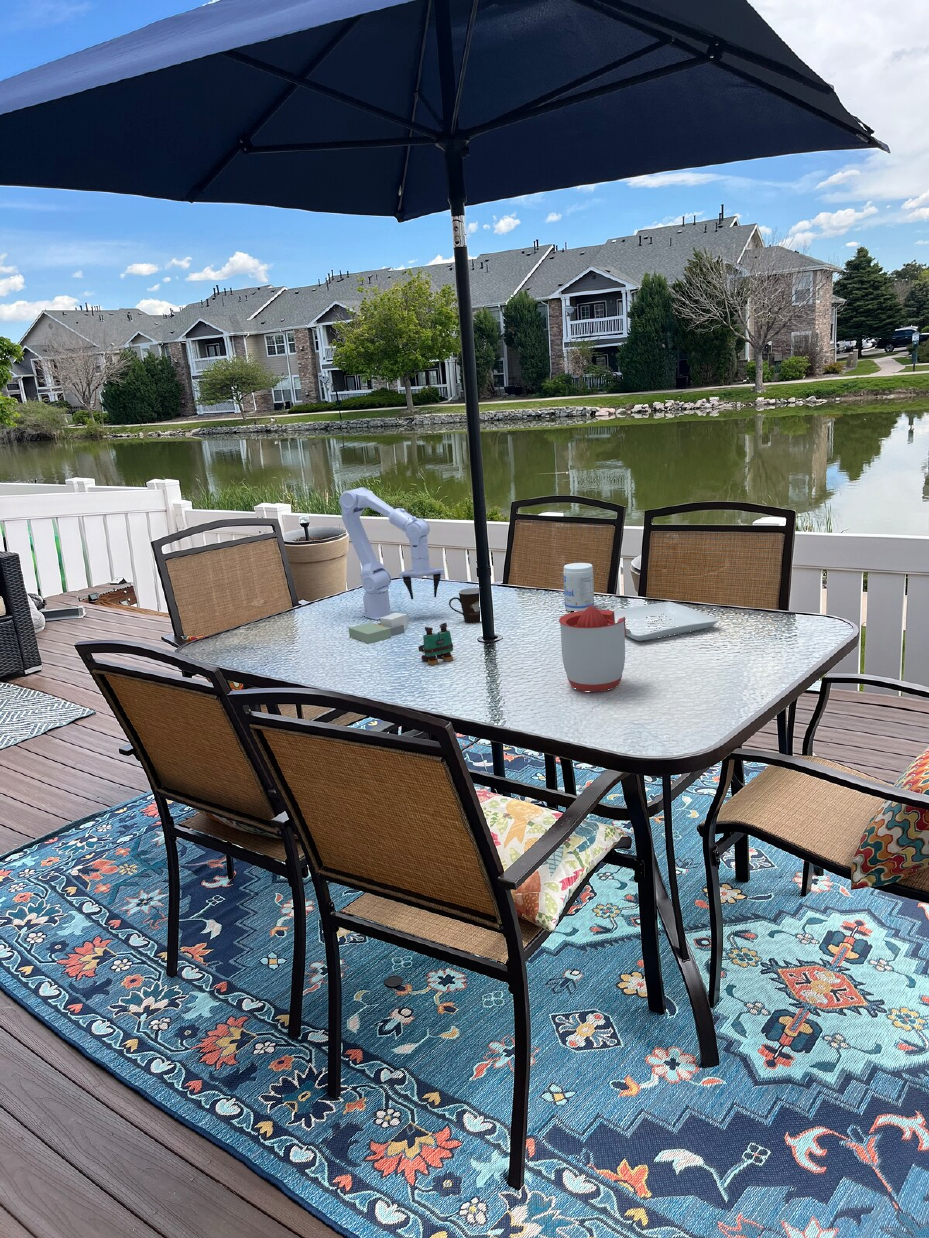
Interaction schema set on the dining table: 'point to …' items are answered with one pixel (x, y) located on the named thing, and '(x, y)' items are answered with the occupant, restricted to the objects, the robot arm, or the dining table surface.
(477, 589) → the coffee mug
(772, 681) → the dining table surface
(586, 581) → the supplement tub
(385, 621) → the tall pale grey block
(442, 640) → the binoculars
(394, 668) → the dining table surface
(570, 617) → the citrus juicer
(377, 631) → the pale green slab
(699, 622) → the square plate
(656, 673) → the dining table surface
